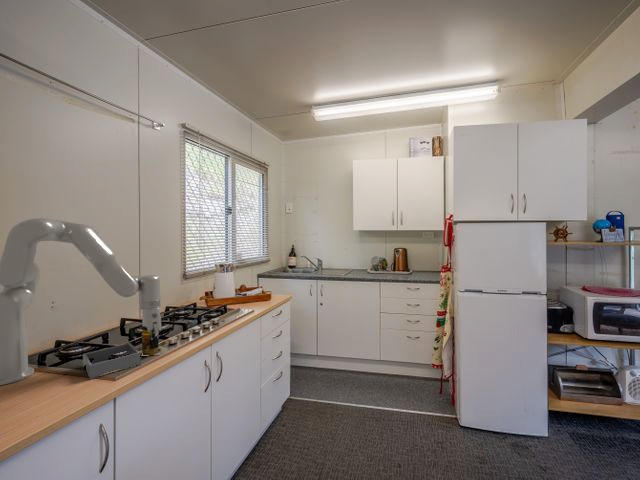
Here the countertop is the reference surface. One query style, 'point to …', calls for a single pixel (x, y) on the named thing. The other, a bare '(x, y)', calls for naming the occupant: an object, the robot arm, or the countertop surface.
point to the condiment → (148, 344)
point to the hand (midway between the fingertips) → (151, 345)
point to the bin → (104, 365)
